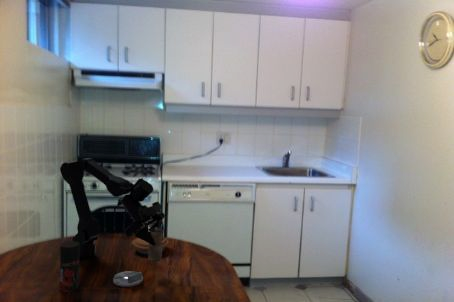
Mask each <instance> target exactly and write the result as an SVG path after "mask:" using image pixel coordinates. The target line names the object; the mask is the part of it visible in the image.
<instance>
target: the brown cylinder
mask: <svg viewBox="0 0 454 302" xmlns="http://www.w3.org/2000/svg"><path fill="white" fill-rule="evenodd" d="M148 231H149V233H150V234H151V236H152V238H153V239H154V241H155V243H156V244H155V245H154V246H153V245H151V244H149V254H148V258H147V259H148V261H149V262H151V263H158V262H161V261H162V257H163V255H162V254H163V251H162V236H163V233H164V232H163V229H162V228H161V227H160V228H157V227H155V228H151V229H150V230H148Z"/></svg>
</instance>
